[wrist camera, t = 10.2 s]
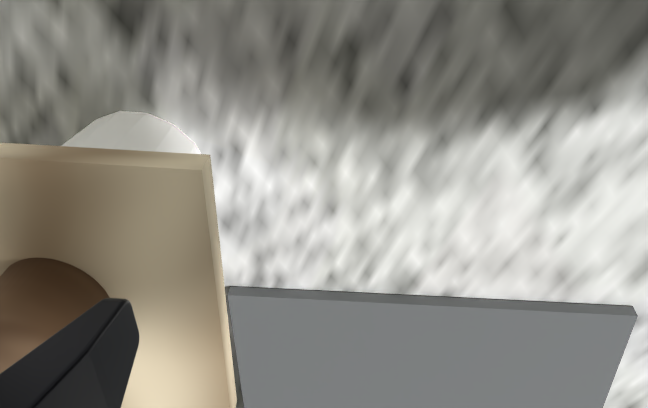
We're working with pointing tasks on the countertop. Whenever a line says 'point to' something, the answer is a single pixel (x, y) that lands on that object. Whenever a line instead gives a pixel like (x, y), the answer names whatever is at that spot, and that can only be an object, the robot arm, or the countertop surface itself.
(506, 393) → the mat
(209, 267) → the lid
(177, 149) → the white round cup
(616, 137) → the countertop surface
